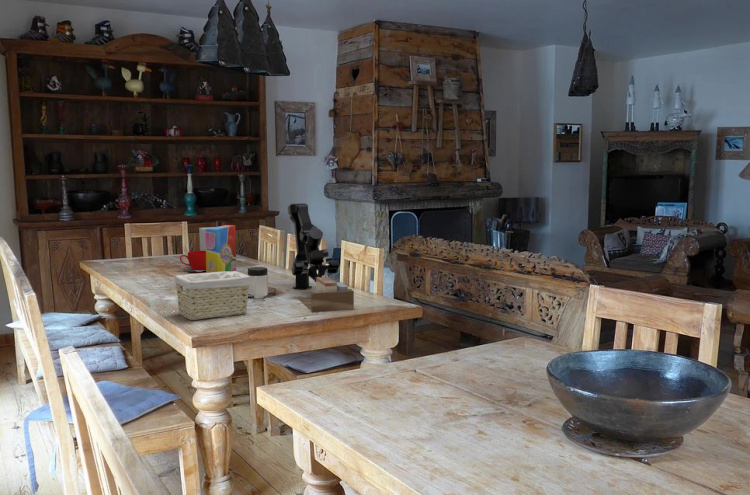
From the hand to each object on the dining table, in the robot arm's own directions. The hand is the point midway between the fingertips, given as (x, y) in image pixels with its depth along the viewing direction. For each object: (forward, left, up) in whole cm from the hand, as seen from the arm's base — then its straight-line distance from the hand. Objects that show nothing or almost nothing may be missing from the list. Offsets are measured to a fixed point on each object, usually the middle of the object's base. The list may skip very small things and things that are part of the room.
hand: (319, 285), depth 267 cm
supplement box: (-80, -121, -7) cm, 145 cm away
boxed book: (+8, +8, -6) cm, 12 cm away
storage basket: (+36, -24, -7) cm, 44 cm away
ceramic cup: (-36, -95, -7) cm, 101 cm away
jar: (+2, -29, -7) cm, 30 cm away
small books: (+6, +14, -7) cm, 17 cm away
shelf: (+6, +6, -7) cm, 11 cm away
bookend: (+14, +6, -6) cm, 17 cm away
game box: (-9, -57, -7) cm, 58 cm away
